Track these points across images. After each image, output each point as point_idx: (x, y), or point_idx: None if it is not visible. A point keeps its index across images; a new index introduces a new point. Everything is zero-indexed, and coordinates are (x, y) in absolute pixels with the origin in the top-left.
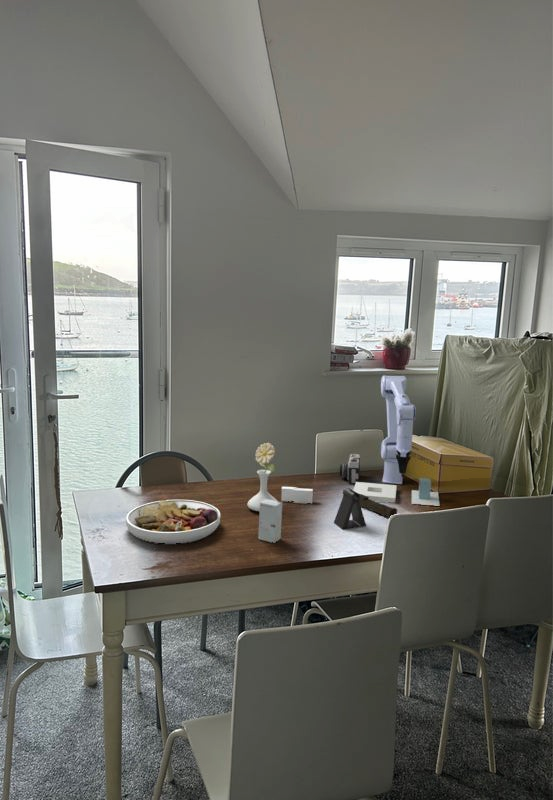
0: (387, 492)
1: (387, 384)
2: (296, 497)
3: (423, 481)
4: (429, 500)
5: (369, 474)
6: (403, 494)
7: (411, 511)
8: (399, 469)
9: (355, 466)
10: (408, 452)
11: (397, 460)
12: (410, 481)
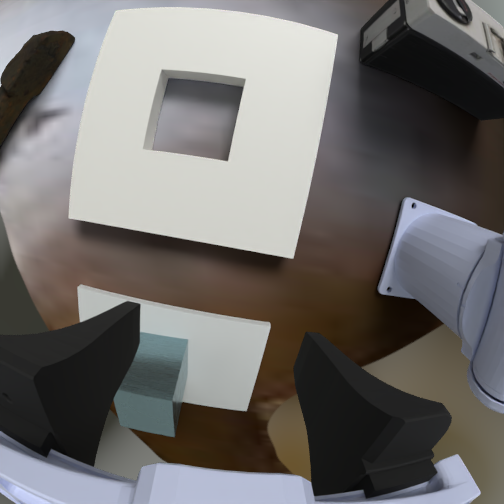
0: (147, 184)
1: None
2: None
3: (114, 400)
4: None
5: (492, 169)
6: (220, 276)
7: (23, 267)
8: (108, 313)
9: (409, 7)
10: (320, 495)
11: (23, 335)
12: (409, 330)
